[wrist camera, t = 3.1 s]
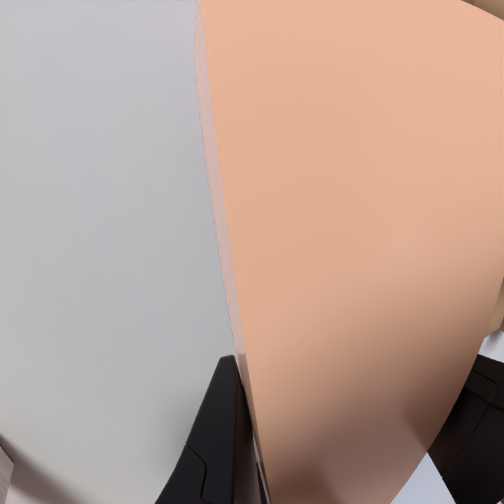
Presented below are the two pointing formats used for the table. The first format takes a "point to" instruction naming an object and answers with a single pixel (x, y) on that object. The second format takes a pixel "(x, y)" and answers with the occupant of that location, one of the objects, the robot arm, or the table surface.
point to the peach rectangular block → (352, 225)
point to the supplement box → (5, 474)
